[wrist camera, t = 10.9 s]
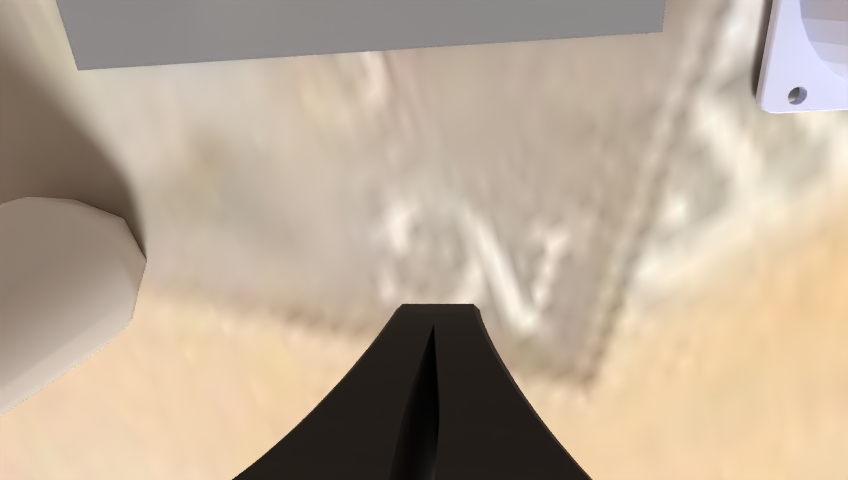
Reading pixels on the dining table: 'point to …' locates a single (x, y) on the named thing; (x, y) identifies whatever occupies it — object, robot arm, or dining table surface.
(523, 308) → the dining table surface
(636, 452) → the dining table surface
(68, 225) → the salt shaker
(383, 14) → the slate mat
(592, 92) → the dining table surface
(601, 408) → the dining table surface
